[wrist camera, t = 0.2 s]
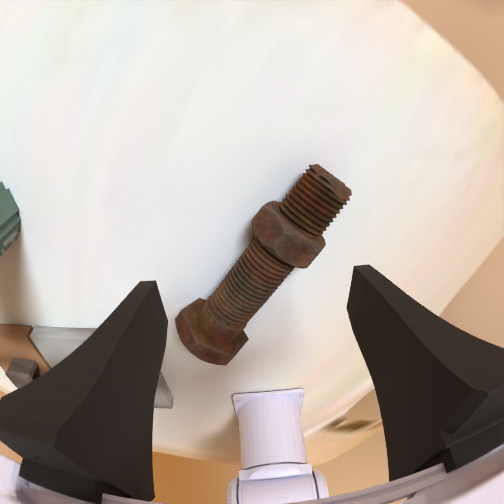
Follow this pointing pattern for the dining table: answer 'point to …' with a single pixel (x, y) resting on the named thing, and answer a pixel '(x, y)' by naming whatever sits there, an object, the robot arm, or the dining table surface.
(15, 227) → the can
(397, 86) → the dining table surface
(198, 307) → the bolt
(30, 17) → the dining table surface
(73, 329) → the latch plate
